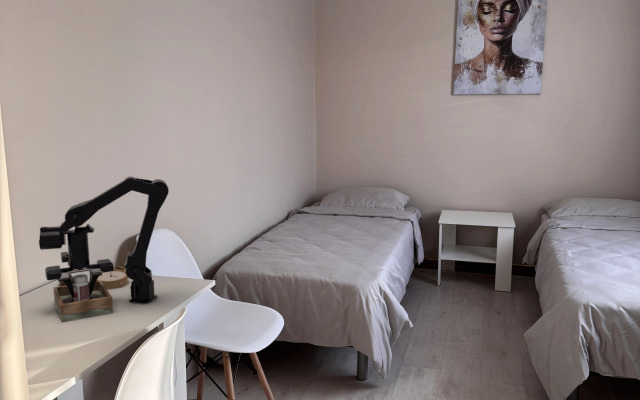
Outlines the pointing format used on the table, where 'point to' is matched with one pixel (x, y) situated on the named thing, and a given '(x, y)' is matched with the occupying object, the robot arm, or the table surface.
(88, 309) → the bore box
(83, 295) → the pill bottle
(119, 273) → the alarm clock
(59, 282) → the brown tall rounded piece
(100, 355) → the table surface
